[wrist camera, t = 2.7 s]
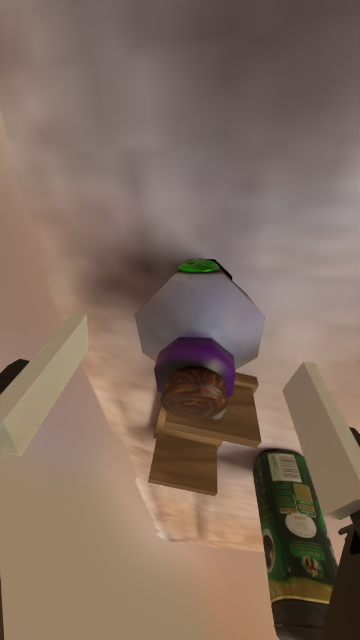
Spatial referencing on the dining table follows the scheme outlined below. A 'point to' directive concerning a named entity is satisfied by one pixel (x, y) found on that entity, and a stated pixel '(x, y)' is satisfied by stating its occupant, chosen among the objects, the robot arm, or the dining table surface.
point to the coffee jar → (294, 545)
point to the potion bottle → (199, 337)
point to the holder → (203, 441)
